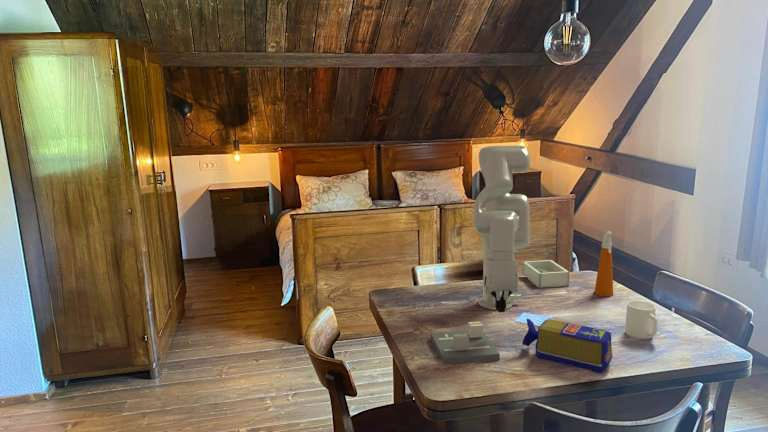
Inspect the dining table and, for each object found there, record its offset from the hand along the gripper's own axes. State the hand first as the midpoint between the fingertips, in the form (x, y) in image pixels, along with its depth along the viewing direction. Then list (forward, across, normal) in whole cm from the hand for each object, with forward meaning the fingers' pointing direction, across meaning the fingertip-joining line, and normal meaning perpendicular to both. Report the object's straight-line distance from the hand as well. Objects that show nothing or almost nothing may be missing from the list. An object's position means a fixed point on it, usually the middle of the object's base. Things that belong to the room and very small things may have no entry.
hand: (500, 310), depth 169 cm
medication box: (+9, -40, -56) cm, 70 cm away
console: (+11, +13, +3) cm, 17 cm away
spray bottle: (+9, -54, -34) cm, 65 cm away
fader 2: (+8, +8, -1) cm, 11 cm away
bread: (+11, -16, +14) cm, 24 cm away
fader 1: (+8, +15, +7) cm, 18 cm away
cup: (+10, -46, +4) cm, 48 cm away
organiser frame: (+8, -39, -56) cm, 69 cm away
